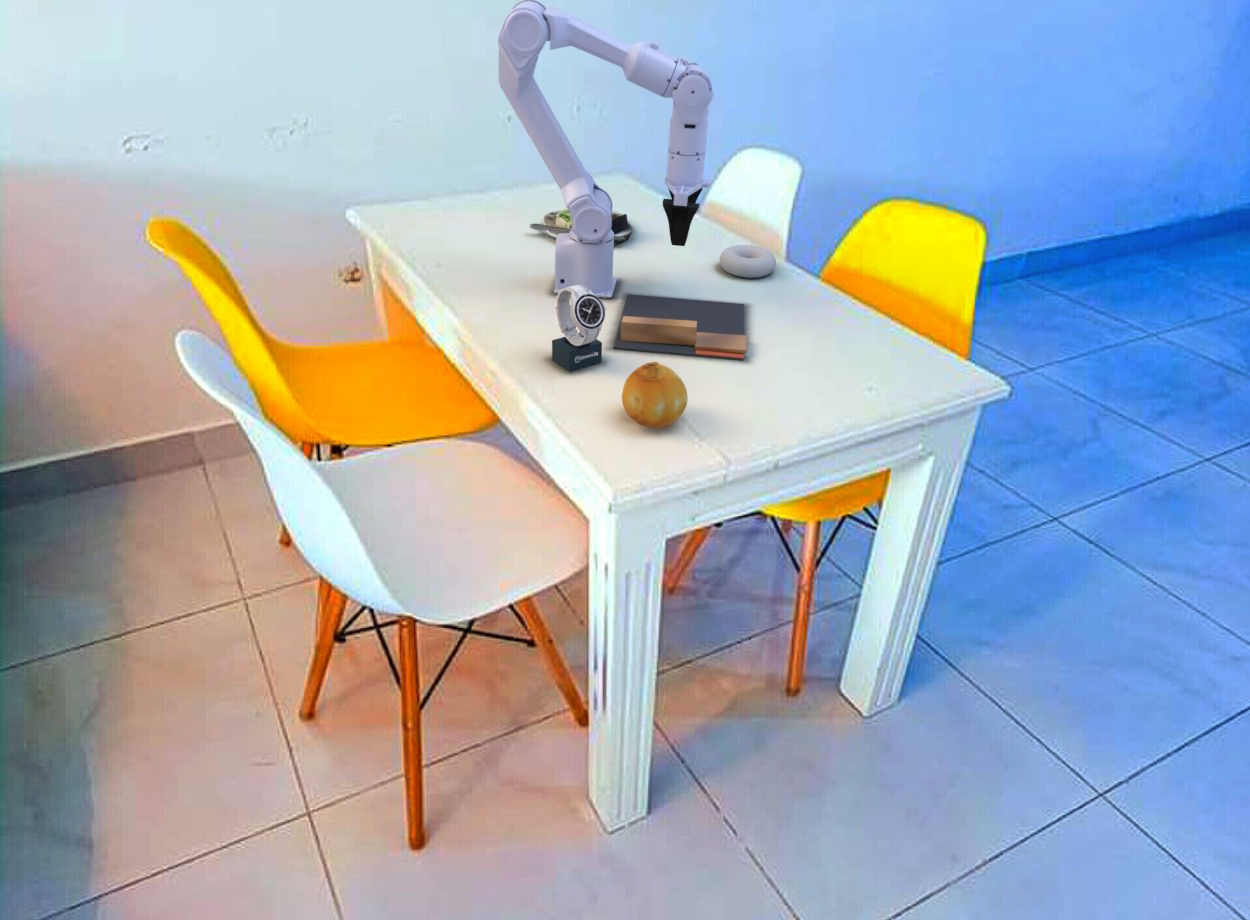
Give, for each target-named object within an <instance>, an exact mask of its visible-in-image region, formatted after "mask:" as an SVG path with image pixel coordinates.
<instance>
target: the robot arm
mask: <svg viewBox="0 0 1250 920" xmlns="http://www.w3.org/2000/svg"><path fill="white" fill-rule="evenodd" d="M547 42H549V50H551V51H552V50H556V49H561V48H567V47H573V48H575V49H578V50H581V51H582V52H585V53H587V54H589V55H592V56H594V57H596V58H599V59H602V60H604V61H605V62H608V63H611V64H613V65H615V66H618V67H620V68H621V69H622V71H623V74H624V77H625V80H626V81H628V82H630V83H632V84H634V85H636V86H639V87H640V88H643V89H645V90H646V91H649V92H651V93H653V94H655V95H657V96H659V97H662V98H663V99H669V98H670V99H673V101H672V112H671V113H672V115H671V117H670V119H669V131H668V149H667V160H666V161H667V162H666V175H665V178H664V186H666V188H667V189H668V192H669V194H670V198H663V199H662V209H663V210H664V212H665V215H666V218H667V221H668V229H669V238H670V243H671V246H679V247H685V246H686V243H687V240H688V237H689V232H690V228H691V225H692V222H693V220H694V217H695V215H696V214H697V212H698V210H699V208H700V205H701V204H700V203H697V201H698V198H699V196H700V195H701V193H702V191H703V189H704V188H710V185H711V180H710V179H705V178H704V172H705V160H706V150H707V149H706V148H707V147H706V146H707V140H708V139H707V138H708V126H709V121H708V116H709V105H710V104H711V102H712V100H713V98H714V92H713V86H712V85H713V84H712V82H711V80H710V77H709V74H708V73H707V71H706V70H705V69H704V68H703V67H701V66H700V65H699V64H698V63H697V62H692V61H691V62H690V61H689V59H688V58H687V57H684V56H682V57H681V58H680V57H679V58H678V57H677V56H675V55H672V54H671V53H668V52H666V51H664V50H662V49H660V48H659V47H660V44H659V43H658V42H656V41H654V40H649V43H648V42H646V41H644V40H641V41H638V42H636V43H633V44H628V43H627V42H625V41H622V40H620V39H619V38H618V37H615V36H613V35H612V34H609V33H607V32H605V31H604V30H602V29H600V28H598V27H596V26H594V25H592V24H591V23H588V22H587V21H585V20H583V19H581V18H580V17H577V16H576V15H574V14H572V13H569V12H567V11H565V10H563V9H560V8H558V7H556V6H551V5H547V6H545V5H544V4H543V3H542V2H540V1H539V0H520V1H519V2H517V3H515V5H514V6H513V7H512V8H511V10H510V11H509V13H507V15H506V16H505V17H504V20H503V23H502V25H501V29H500V30H499V33H498V37H497V45H498V47H497V48H498V75H497V76H498V77H497V79H498V84H499V86H500V89H501V90H502V92H503V94H504V95H505V97H506V99H507V101H508V102H509V104H510V106H511V107H512V110H513V111H514V113H515V114H516V117H517V118H518V119H519V121H520V123H521V125H522V127H523V128H524V130H525V132H526V133H527V135H528V136H529V138H530V140H531V142H532V143H533V146H534V147H535V148H536V150H537V152H538V154H539V156H540V157H541V159H542V160H543V162H544V165H545V166H546V167H547V169H548V171H549V172H550V174H551V176H552V178H553V179H554V181H555V183H556V184H557V186H558V188H559V190H560V192H561V196H562V200H563V202H564V205H565V207H566V210H568V211H569V213H570V216H571V225H572V228H571V229H570V233H560V234H558V236H557V239H555V248H554V249H555V250H554V290H553V292H554V294H558V293H559V291H560V290H561V289H563V288H566V287H570V286H575V285H582V286H584V287H586V288H587V289H588V290H591V291H592V293H593V294H594V295H595V296H597V297H598V298H605V299H606V298H607V299H608V298H609V299H610V298H612V297H613V294H614V292H615V288H616V285H617V282H618V278H617V277H614V275H613V274H614V273H613V272H614V249H615V248H614V247H615V244H614V232H613V231H612V230H611V226H612V220H611V212H612V211H613V200H612V197H611V196H610V194H609V192H607V191H606V190H605V189H604V188H602V187H600V186H599V185H598V184H597V182H596V181H595V180H594V177H593V176H592V175H591V174H590V173H589V172H588V171H587V170H586V168H585V166H584V165H583V163H582V161H581V160H580V158H579V156H578V154H577V152H576V150H575V148H574V147H573V145H572V143H571V141H570V139H569V138H568V136H567V134H566V133H565V130H564V129H563V127H562V126H561V124H560V122H559V120H558V118H557V117H556V115H555V114H554V111H553V110H552V108H551V106H550V105H549V103H548V101H547V99H546V97H545V95H544V94H543V91H542V89H541V88H540V86H539V85H538V82H537V81H536V80H535V78H534V77H535V71H536V67H537V63H538V60H539V56H540V54H541V52H542V50H543V49H544V47H545V45H546V43H547ZM571 294H572V293H571ZM571 294H570V295H571Z"/></svg>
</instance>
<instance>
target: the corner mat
mask: <svg viewBox="0 0 1250 920" xmlns="http://www.w3.org/2000/svg"><path fill="white" fill-rule="evenodd" d="M623 316H631V317H645V318H660V319H674V320H688V321H697V330H696V332H703V333H717V334H732V335H745V322H744V321H745V304H744V303H737V302H734V303H733V302H724V301H713V300H703V299H702V300H701V299H691V298H689V299H688V298H676V297H667V296H665V297H664V296H653V295H641V294H632V293H631V294H630V293H629V294H627V296H626V300H625V304H624V307H623V311H622V315H621V318H620V321H619V324H618V329H617V333H616V336H615V340H614V343H613V347H612V349H613V350H622V351H633V352H644V353H656V354H666V355H675V356H677V355H678V356H687V357H688V356H689V357H700V358H701V357H702V358H711V359H721V360H722V359H724V360H734V361H744V359H745V353H732V352H718V351H704V350H695V346H692V345H678V344H664V343H650V342H636V341H622V340H621V322H622V318H623Z"/></svg>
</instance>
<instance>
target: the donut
mask: <svg viewBox="0 0 1250 920" xmlns="http://www.w3.org/2000/svg"><path fill="white" fill-rule="evenodd" d="M719 265H720V267H721V268H722V269H723V271H725V272H727V274H730V275H733V276H735V277H739V278H740V277H741V278H746V279H757V278H761V277H767V276H768V275H770V274H771V273H772V272H773V271H774V270H775V268H776V266H777V259H776V257H775V254H774V253H773V252H771V251H770V250H768V249H766V248H765V247H762V246H757V245H752V244H736V245H732V246H729V247H727V248H725V249H724V250H723V251H722V252H721V254H720V255H719Z"/></svg>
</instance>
